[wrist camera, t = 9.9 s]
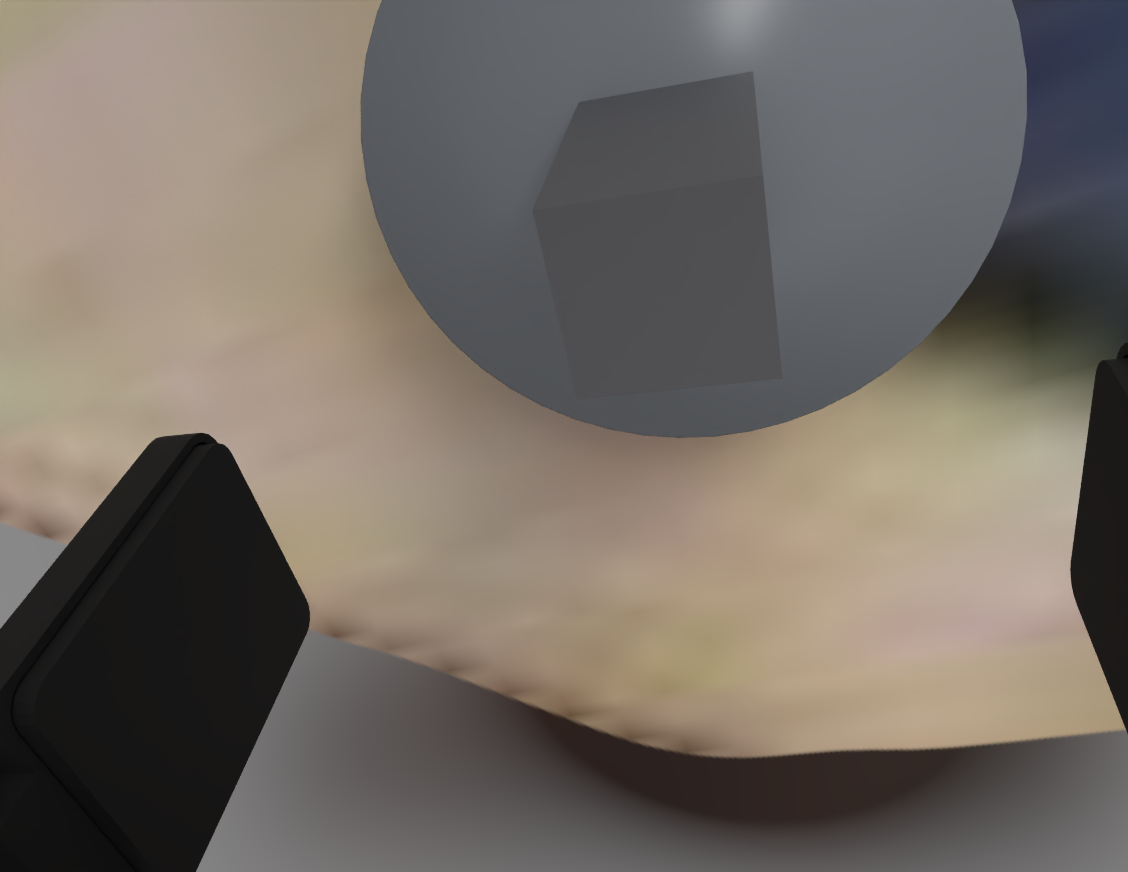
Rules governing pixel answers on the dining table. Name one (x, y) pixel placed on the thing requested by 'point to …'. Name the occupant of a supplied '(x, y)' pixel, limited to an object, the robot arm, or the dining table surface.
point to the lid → (691, 191)
